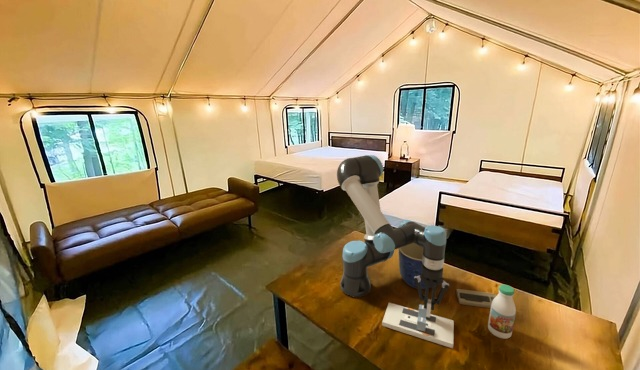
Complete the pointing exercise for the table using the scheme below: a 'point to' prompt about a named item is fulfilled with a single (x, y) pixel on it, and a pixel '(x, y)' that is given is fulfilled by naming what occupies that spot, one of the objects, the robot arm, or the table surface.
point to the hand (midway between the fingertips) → (428, 314)
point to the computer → (475, 298)
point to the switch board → (406, 322)
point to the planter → (411, 263)
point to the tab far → (422, 311)
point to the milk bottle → (502, 313)
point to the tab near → (421, 323)
